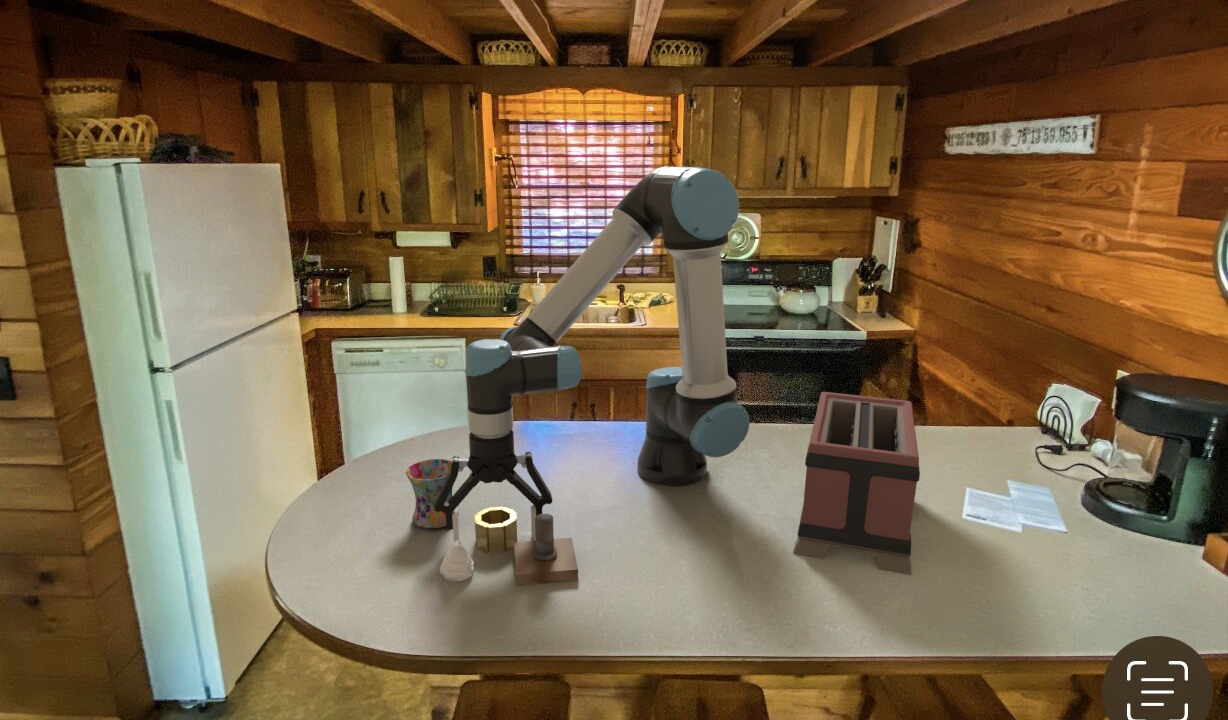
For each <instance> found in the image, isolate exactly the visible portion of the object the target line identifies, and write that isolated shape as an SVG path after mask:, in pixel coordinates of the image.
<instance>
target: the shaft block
mask: <svg viewBox="0 0 1228 720" xmlns="http://www.w3.org/2000/svg"><path fill="white" fill-rule="evenodd" d="M554 534H555V533H554V516H553V515H552V514H550V513H542V514H539V515H537V516H536V517H535V536H536V541H532V540H524V541H517V542H514V547H513V549H514V551H513V552H514V564H515V565H514V566H515V581H516V584H515V585H516V586H527V585H537V584H539V585H540V584H549V583H561V582H568V581H569V582H571V581H579V567H578V563H577V557H576V553H575V548H574V544H573V538H572V537H563V538H554Z"/></svg>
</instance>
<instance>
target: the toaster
mask: <svg viewBox="0 0 1228 720" xmlns="http://www.w3.org/2000/svg"><path fill="white" fill-rule="evenodd" d="M815 413H816V414H815V417H814V422H813V426H812V430H811V434H810V438H809V442H808V447H807V451H806V454H805V455H806V456H805V462H804V463H805V464H804V466H806V471H805V485H804V495H803V505H802V509H801V515H800V520H799V525H798V529H797V538H796V540H795V542H794V547H793V553H792V555H794V556H800V557H801V556H802V557H808V558H811V559H812V558H813V559H819V560H823V561H824V560H825V558H826V556H827V554H828V552H829V551H830V549H831V548H835V549H837V548H838V549H844V550H848V551H849V550H850V551H854V552H860V553H865V554H871V555H874V557H875V562H876V563H875V564H876V566H877V569H878V571H885V572H891V573H896V574H902V575H907V576H912V562H911V559H910V558H911V555H912V537H911V536H912V535H911V528H912V527H911V526H912V523H913V522H912V521H913V513H914V507H915V498H916V493H917V492H916V491H917V486H918V485H917V483H918V482H920V476H921V470H920V456H919V448H918V443H917V442H918V441H917V435H916V429H915V419H914V411H913V403H912V401H910V400H902V399H894V398H887V397H886V398H884V397H874V396H867V395H866V396H864V395H857V394H856V395H855V394H847V393H839V392H838V393H837V392H828V391H821V393H820V395H819V400H818V404H817V408H816V412H815Z"/></svg>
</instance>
